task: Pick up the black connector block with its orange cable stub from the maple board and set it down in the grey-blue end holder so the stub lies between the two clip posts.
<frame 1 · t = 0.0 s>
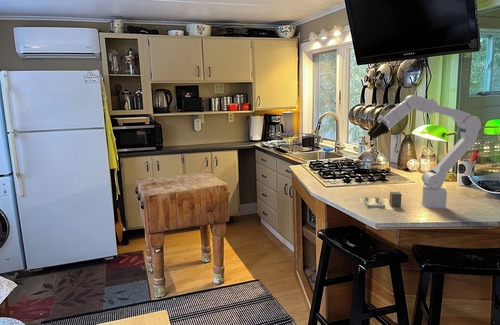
hand: (370, 135, 166), 32 cm above the countertop, tool tilted 50°, fingers open, 7 cm apart
clip: (371, 201, 176), resting on board
plug: (395, 205, 168), resting on board
holder: (374, 205, 169), resting on board
board: (380, 204, 171), on the countertop
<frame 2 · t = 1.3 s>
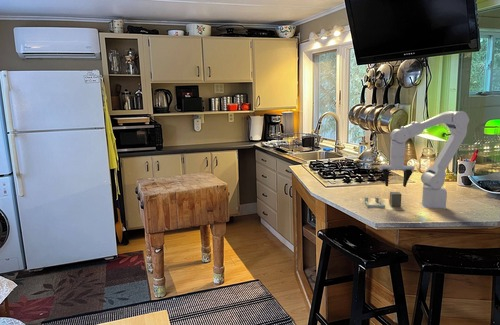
hand: (395, 186, 166), 10 cm above the countertop, tool pointing down, fingers open, 7 cm apart
nothing on the countertop moved.
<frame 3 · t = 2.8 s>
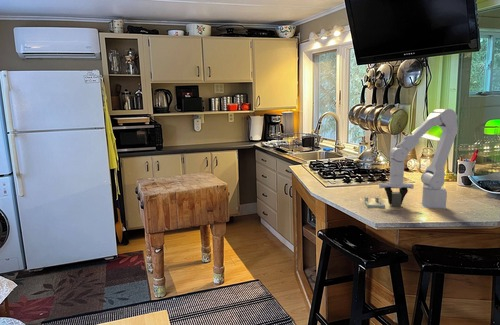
hand: (395, 203, 168), 1 cm above the countertop, tool pointing down, fingers closed on plug, 4 cm apart
plug: (395, 205, 168), resting on board, touching gripper
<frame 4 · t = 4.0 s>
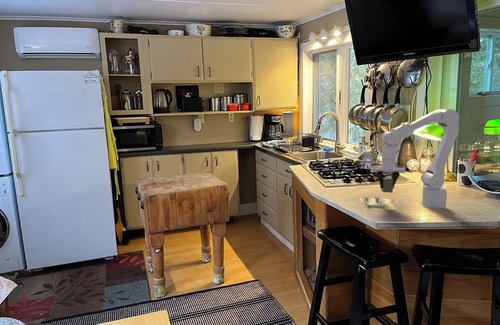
hand: (386, 188, 167), 9 cm above the countertop, tool pointing down, fingers closed on plug, 4 cm apart
plug: (386, 191, 167), point 7 cm above the countertop, touching gripper
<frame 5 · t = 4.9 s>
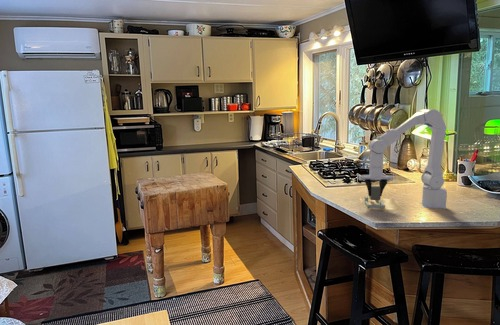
hand: (374, 195, 168), 5 cm above the countertop, tool pointing down, fingers closed on plug, 4 cm apart
plug: (374, 199, 168), point 3 cm above the countertop, touching gripper
when the fingers open (3 cm above the countertop, at t = 5.6 s): plug drops 1 cm, resting on board.
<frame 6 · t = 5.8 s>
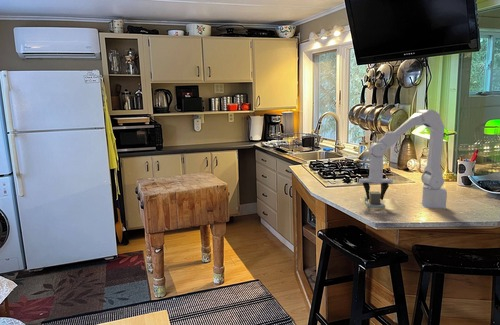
hand: (374, 199, 168), 3 cm above the countertop, tool pointing down, fingers open, 5 cm apart
plug: (374, 205, 169), resting on board
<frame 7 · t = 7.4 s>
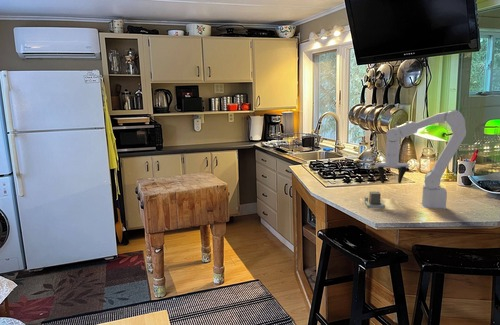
hand: (390, 182, 174), 9 cm above the countertop, tool pointing down, fingers open, 7 cm apart
nothing on the countertop moved.
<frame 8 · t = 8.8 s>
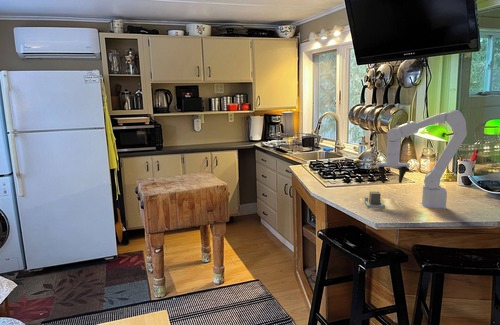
hand: (391, 182, 174), 9 cm above the countertop, tool pointing down, fingers open, 7 cm apart
nothing on the countertop moved.
at the end: plug 0.0 cm from the target spot, resting on board; plug tilted 0°; the gripper is holding nothing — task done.
